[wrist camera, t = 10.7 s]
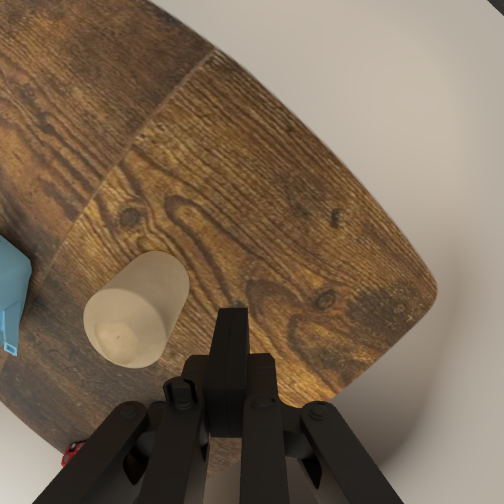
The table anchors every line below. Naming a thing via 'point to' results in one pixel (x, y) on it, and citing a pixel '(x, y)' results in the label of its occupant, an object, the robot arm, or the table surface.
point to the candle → (137, 310)
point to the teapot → (12, 293)
